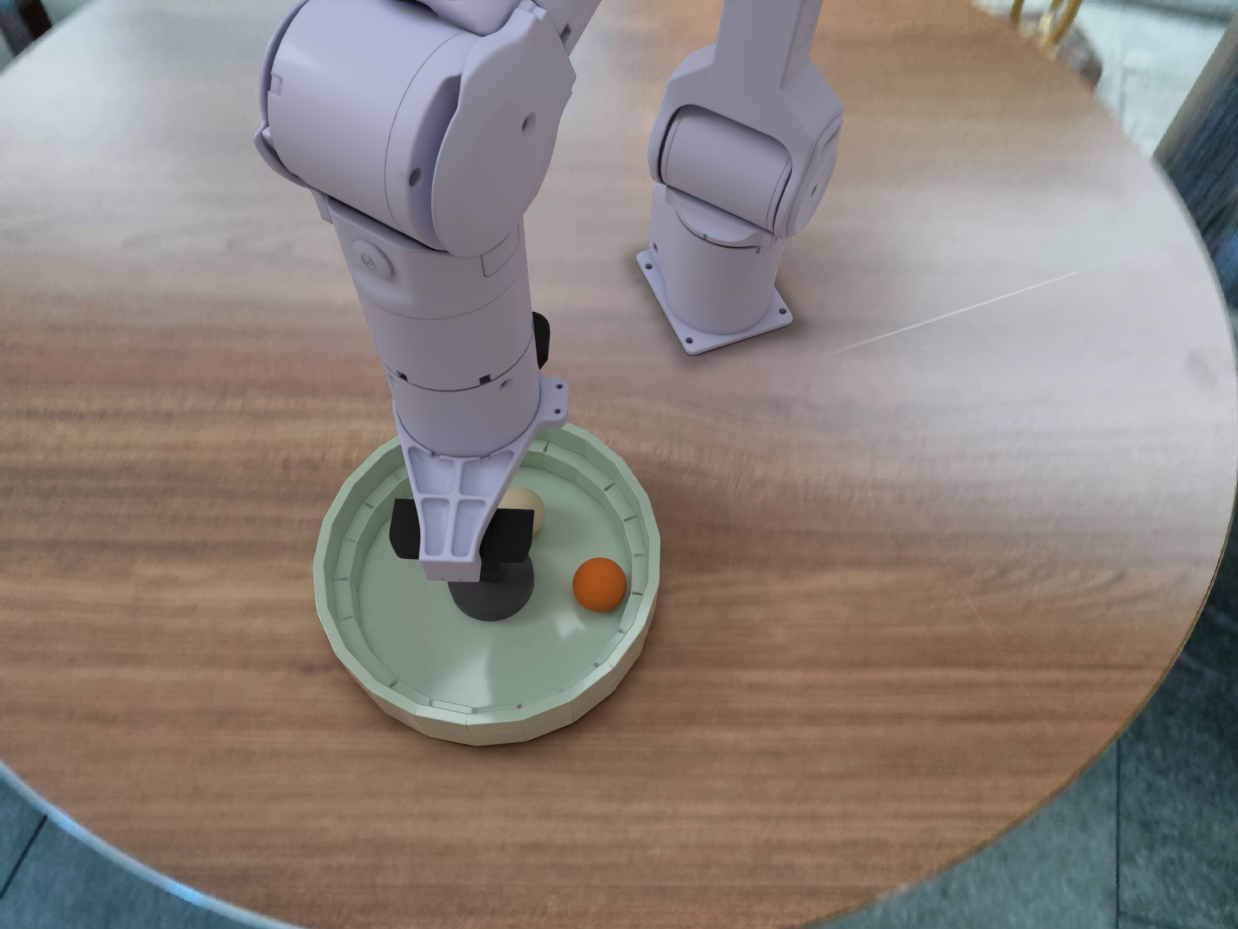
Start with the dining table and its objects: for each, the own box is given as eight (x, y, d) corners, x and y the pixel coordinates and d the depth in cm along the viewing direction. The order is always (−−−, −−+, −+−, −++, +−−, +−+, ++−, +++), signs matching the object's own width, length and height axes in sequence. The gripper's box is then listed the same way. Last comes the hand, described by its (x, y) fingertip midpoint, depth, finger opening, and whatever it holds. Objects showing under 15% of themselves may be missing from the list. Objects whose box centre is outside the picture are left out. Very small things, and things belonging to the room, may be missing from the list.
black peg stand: (545, 555, 53) (538, 493, 47) (519, 631, 51) (507, 577, 45) (467, 534, 54) (449, 470, 47) (437, 609, 52) (414, 552, 45)
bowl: (304, 507, 56) (279, 466, 51) (589, 415, 59) (588, 369, 55) (381, 803, 47) (360, 783, 43) (707, 673, 51) (718, 643, 47)
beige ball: (500, 498, 55) (479, 491, 52) (547, 485, 55) (528, 477, 52) (510, 547, 54) (489, 542, 52) (557, 534, 54) (538, 528, 51)
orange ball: (562, 570, 52) (593, 611, 53) (560, 587, 49) (593, 630, 50) (606, 540, 52) (636, 582, 53) (606, 555, 49) (638, 599, 50)
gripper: (551, 510, 30) (564, 648, 41) (576, 186, 37) (581, 382, 49) (331, 501, 30) (406, 642, 41) (399, 179, 37) (447, 376, 49)
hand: (491, 501), depth 45 cm, fingers open, 7 cm apart
